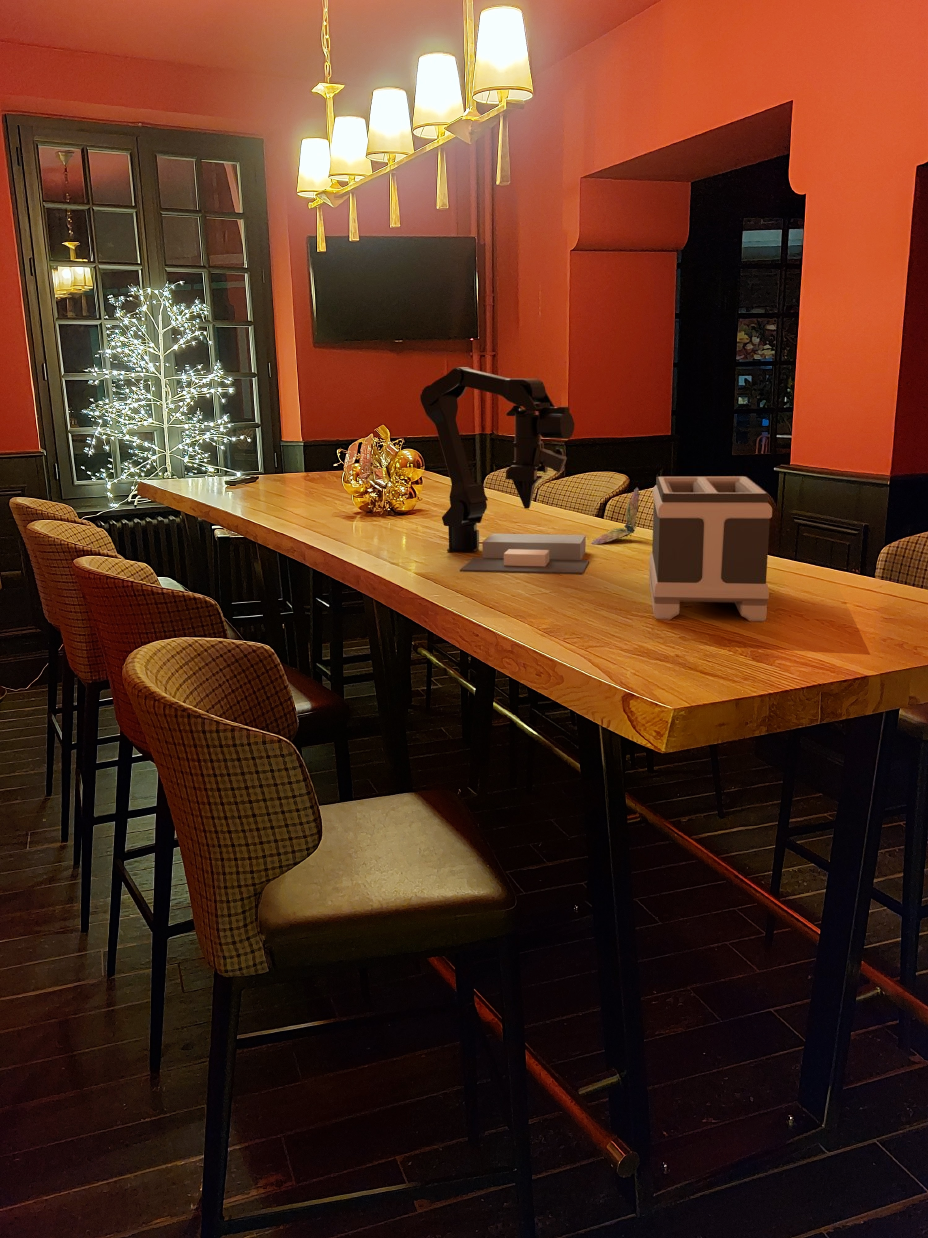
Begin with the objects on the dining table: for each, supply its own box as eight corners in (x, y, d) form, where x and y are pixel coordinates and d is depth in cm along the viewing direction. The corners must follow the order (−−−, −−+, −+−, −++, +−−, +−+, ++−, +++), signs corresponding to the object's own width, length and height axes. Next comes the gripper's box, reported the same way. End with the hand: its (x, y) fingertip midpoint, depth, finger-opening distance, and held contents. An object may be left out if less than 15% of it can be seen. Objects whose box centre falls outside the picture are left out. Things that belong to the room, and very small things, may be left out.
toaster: (742, 581, 188) (748, 473, 183) (767, 623, 156) (775, 494, 150) (647, 579, 191) (650, 473, 186) (653, 621, 158) (656, 494, 153)
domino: (508, 549, 211) (508, 560, 211) (503, 553, 205) (503, 565, 206) (549, 549, 209) (549, 561, 209) (545, 554, 203) (545, 566, 204)
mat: (459, 571, 203) (459, 569, 203) (473, 559, 216) (473, 557, 216) (582, 574, 197) (582, 572, 197) (589, 561, 210) (589, 560, 210)
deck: (482, 559, 216) (482, 541, 215) (492, 550, 227) (492, 533, 226) (580, 561, 211) (580, 543, 210) (585, 551, 222) (585, 534, 221)
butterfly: (649, 493, 240) (619, 474, 237) (665, 504, 231) (633, 484, 228) (611, 550, 244) (580, 533, 241) (625, 563, 235) (593, 545, 232)
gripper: (557, 440, 199) (556, 515, 203) (570, 435, 217) (568, 503, 221) (505, 440, 202) (505, 513, 206) (521, 434, 220) (521, 502, 223)
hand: (527, 508), depth 214 cm, fingers closed
